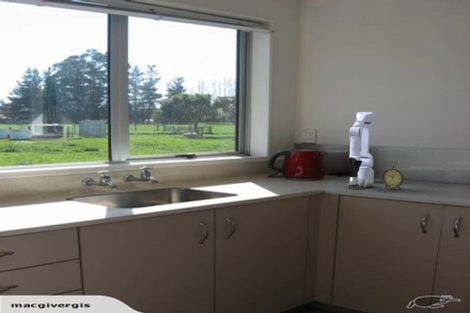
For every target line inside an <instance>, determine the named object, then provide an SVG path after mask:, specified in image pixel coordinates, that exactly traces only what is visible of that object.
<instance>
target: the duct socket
mask: <svg viewBox="0 0 470 313" xmlns="http://www.w3.org/2000/svg"><path fill="white" fill-rule="evenodd" d="M357 178H358V177H357ZM374 184H375V180H373V179H372V178H365V179H361V178H358V182H357V186H349V184H345V189H348V190H362V189H365V188H370V187H371V188H372V187H374Z"/></svg>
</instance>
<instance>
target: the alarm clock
mask: <svg viewBox="0 0 470 313" xmlns="http://www.w3.org/2000/svg"><path fill="white" fill-rule="evenodd" d="M393 162H395V165H392V163H393ZM397 164H398V163H397V161H396V160H391V162H390V166H391V168H388V169H386V170H385V171H384V172H383V174H382V182H383V184H384V185H385V187H384V190H385V189H386V188H391V189H395V188H396V189H397V188H398V189H399V190H400V191H402V188H401V185H402V184H403V182H404V173H403V172H402V171H401V170H400V169H398V168H396V166H397Z"/></svg>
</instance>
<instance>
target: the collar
mask: <svg viewBox="0 0 470 313" xmlns="http://www.w3.org/2000/svg"><path fill="white" fill-rule="evenodd" d="M357 182H358V177H352V176H351V177H349V186H357Z"/></svg>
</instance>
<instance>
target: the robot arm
mask: <svg viewBox="0 0 470 313" xmlns="http://www.w3.org/2000/svg"><path fill="white" fill-rule="evenodd" d="M374 124H375V113H374V111H357V113H356V121H355V122H354V124H353V126H351V127H349V130H348V131H349V132H348V133H349V134H348V136H349V157H348V158H347V159H346V160H347V162H348V165H349V169H350V172H354V173H357V178H361V179H365V178H372V179H373V181H375V180H374V176H375V173H374V172H375V171H374V170H373V168H372V167H373V166H374V157H373V154H371V153H370V152H369V151H370V150H369V149H370V137H371V128H372V127H373V126H374Z"/></svg>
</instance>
